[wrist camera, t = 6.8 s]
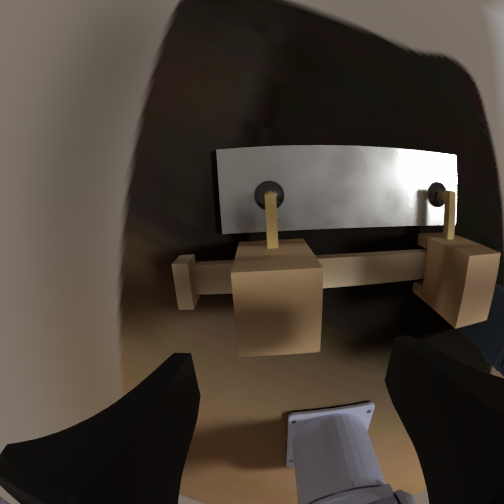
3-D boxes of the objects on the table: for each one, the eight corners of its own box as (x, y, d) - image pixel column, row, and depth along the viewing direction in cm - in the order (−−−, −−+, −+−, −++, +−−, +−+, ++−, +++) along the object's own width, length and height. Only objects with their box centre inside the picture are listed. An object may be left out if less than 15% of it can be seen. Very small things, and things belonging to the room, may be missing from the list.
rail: (463, 275, 18) (477, 283, 17) (185, 297, 19) (178, 309, 17) (468, 239, 18) (483, 245, 16) (180, 255, 18) (171, 264, 17)
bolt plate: (452, 224, 17) (456, 225, 17) (223, 232, 18) (222, 234, 18) (453, 155, 16) (456, 155, 16) (217, 150, 17) (216, 149, 16)
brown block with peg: (303, 302, 19) (319, 351, 13) (244, 305, 19) (238, 356, 13) (301, 189, 17) (322, 195, 11) (235, 192, 17) (224, 199, 11)
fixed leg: (442, 287, 19) (486, 320, 13) (412, 291, 19) (455, 328, 13) (450, 189, 17) (505, 198, 11) (419, 187, 17) (473, 196, 11)
